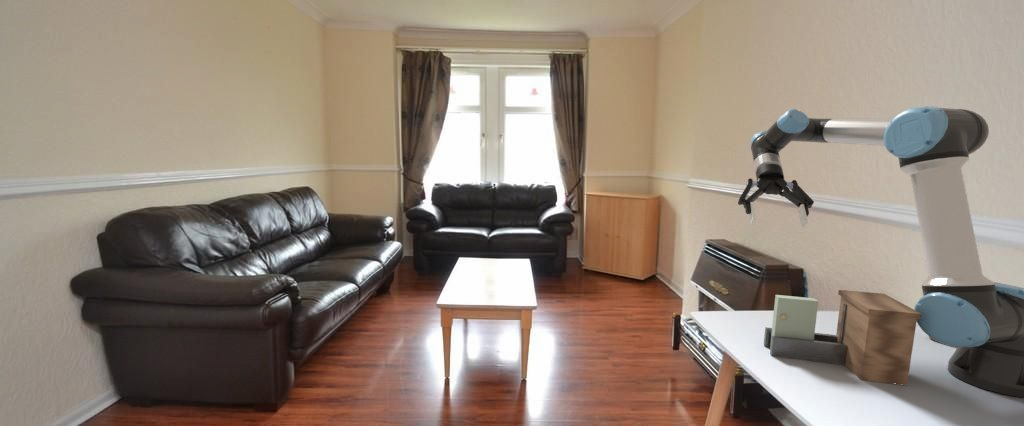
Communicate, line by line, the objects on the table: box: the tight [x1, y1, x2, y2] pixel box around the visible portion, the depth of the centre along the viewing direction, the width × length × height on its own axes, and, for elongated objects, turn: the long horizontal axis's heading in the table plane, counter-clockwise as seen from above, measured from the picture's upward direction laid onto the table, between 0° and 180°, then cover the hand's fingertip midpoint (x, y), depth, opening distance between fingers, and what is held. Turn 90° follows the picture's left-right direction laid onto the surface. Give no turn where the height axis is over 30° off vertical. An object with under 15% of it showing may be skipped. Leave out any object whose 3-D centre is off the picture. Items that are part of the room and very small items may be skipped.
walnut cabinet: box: [835, 289, 922, 386], centre depth 106 cm, size 10×15×17 cm, turn 165°
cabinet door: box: [769, 294, 819, 349], centre depth 114 cm, size 9×3×15 cm, turn 75°
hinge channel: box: [763, 327, 848, 366], centre depth 114 cm, size 16×7×5 cm, turn 75°
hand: (778, 223), depth 130 cm, fingers open, 13 cm apart
